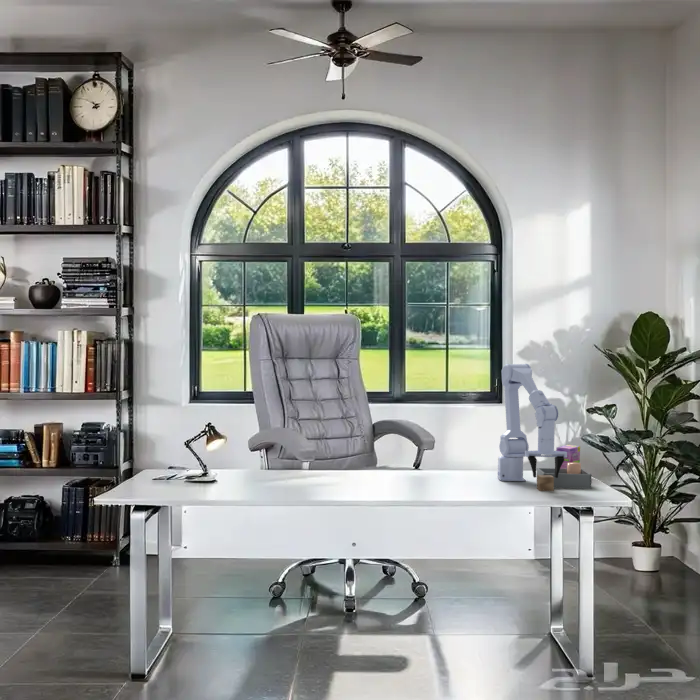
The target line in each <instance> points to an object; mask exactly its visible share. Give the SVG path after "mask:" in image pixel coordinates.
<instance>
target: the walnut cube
mask: <svg viewBox="0 0 700 700" xmlns="http://www.w3.org/2000/svg"><path fill="white" fill-rule="evenodd" d="M536 489H537V490H538V491H539V492H554V477H553V476H552V475H537V474H536Z"/></svg>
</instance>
